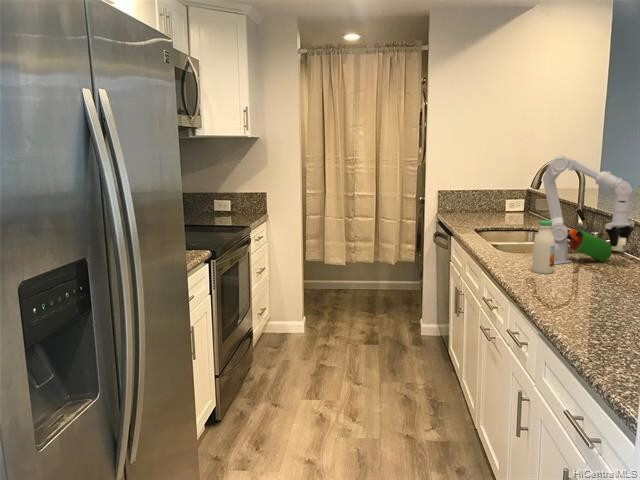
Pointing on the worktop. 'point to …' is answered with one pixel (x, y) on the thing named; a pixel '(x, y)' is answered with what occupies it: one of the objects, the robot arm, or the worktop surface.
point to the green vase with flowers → (589, 245)
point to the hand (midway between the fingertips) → (618, 245)
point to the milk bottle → (544, 249)
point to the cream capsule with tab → (621, 245)
